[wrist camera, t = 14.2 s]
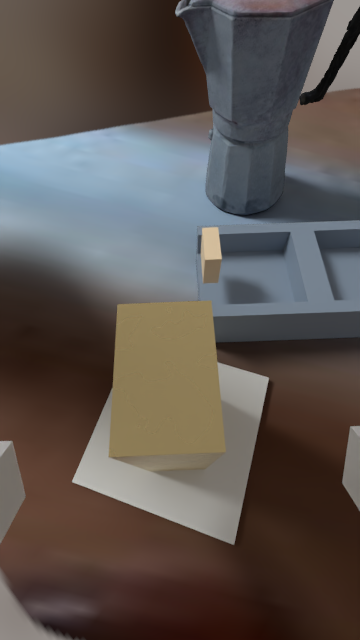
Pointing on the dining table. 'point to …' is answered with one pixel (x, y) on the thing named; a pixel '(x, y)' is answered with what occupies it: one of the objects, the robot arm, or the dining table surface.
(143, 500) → the white square mat
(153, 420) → the tan cardboard box
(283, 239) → the grey divided tray
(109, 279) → the dining table surface
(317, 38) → the moka pot
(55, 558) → the dining table surface
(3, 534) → the robot arm
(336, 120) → the dining table surface
